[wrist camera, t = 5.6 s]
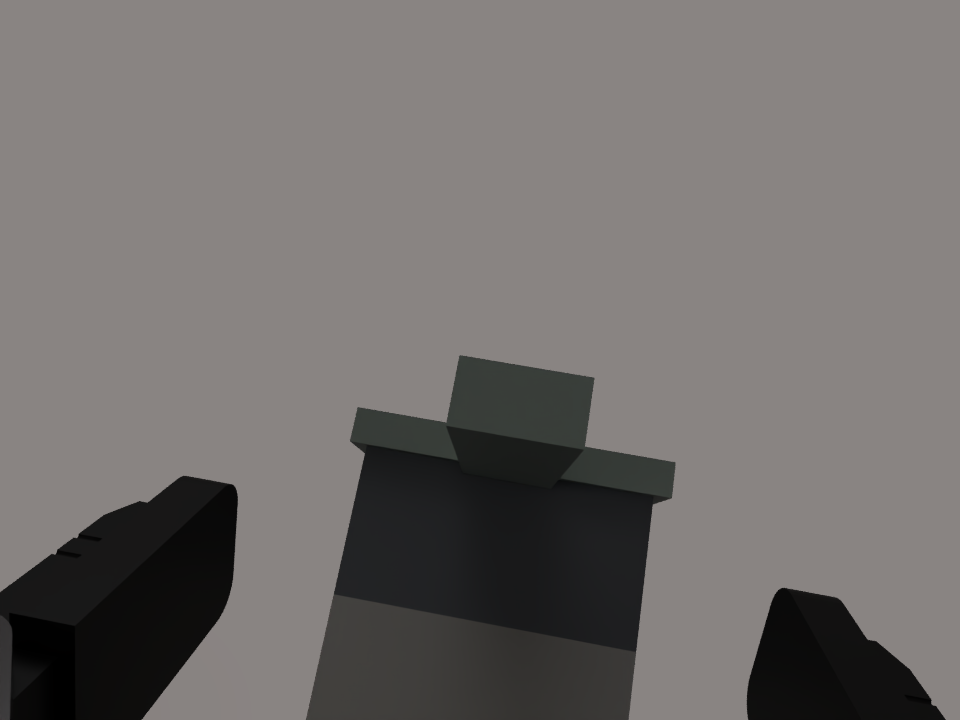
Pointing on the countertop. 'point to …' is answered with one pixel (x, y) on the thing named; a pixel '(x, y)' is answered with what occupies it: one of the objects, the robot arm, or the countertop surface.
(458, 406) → the lid
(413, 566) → the dark grey block
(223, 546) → the robot arm
